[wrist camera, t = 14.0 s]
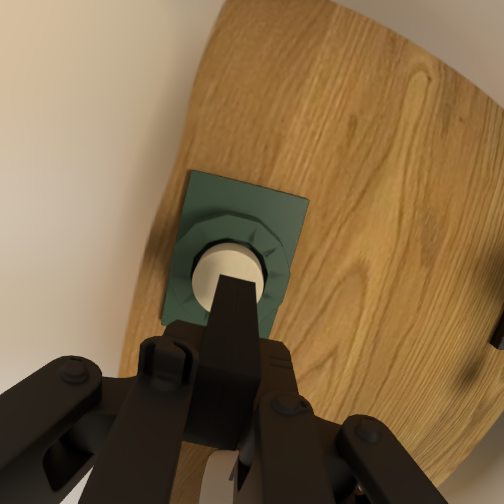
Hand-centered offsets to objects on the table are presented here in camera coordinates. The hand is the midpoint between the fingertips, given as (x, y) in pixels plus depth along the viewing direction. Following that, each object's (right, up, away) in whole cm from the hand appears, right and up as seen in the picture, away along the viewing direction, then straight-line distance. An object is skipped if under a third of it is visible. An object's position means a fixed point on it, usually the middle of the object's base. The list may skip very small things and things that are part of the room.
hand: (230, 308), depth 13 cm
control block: (0, +2, +7) cm, 7 cm away
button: (0, +1, +5) cm, 5 cm away
